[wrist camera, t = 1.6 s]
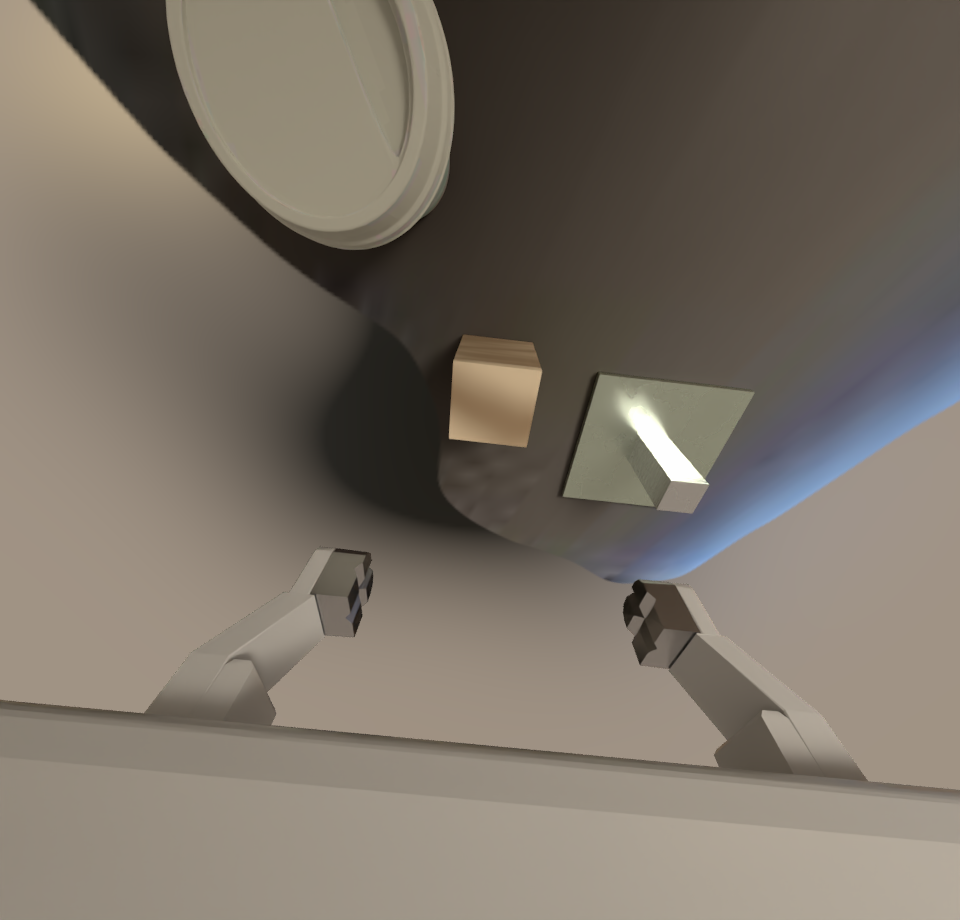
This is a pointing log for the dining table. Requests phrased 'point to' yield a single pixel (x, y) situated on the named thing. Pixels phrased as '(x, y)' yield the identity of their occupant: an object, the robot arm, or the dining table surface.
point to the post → (652, 440)
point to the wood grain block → (494, 390)
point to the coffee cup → (323, 108)
